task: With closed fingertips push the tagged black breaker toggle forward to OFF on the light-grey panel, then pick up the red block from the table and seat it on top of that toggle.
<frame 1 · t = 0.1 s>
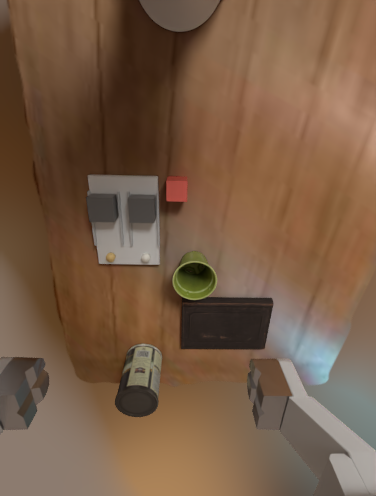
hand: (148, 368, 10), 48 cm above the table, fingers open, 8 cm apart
breaker b: (142, 208, 53), point 3 cm above the table, slide at 0.0 cm
breaker panel: (127, 221, 58), on the table
red block: (177, 186, 55), on the table
breaker a: (102, 207, 53), point 4 cm above the table, slide at 0.0 cm
coffee can: (144, 356, 75), on the table
plant pot: (193, 261, 63), on the table
hardcover book: (224, 320, 71), on the table
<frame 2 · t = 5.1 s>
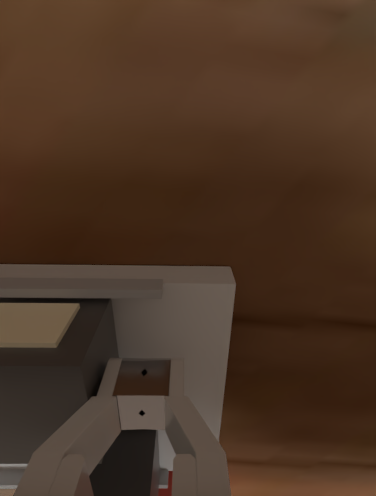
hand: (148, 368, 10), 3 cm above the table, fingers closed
breaker b: (107, 485, 13), point 4 cm above the table, slide at 0.0 cm
breaker panel: (45, 372, 15), on the table
red block: (183, 475, 20), on the table
breaker a: (41, 374, 10), point 4 cm above the table, slide at 1.6 cm, touching gripper
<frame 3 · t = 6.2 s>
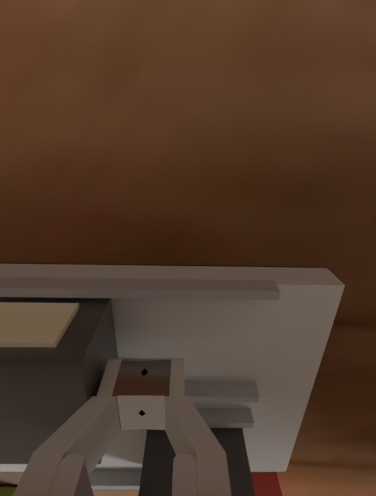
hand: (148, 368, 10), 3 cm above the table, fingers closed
breaker b: (194, 485, 13), point 3 cm above the table, slide at 0.0 cm
breaker panel: (124, 372, 15), on the table
red block: (242, 475, 20), on the table
breaker a: (40, 374, 10), point 3 cm above the table, slide at 6.2 cm, touching gripper
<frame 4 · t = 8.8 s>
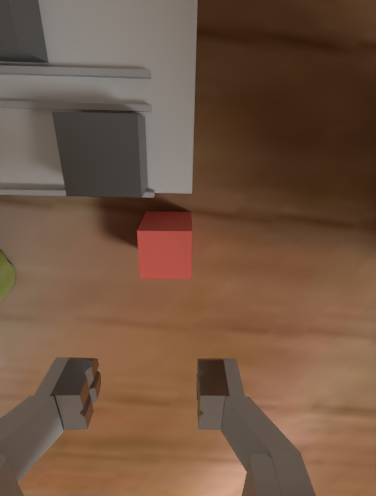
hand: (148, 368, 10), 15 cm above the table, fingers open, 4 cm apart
breaker b: (106, 154, 18), point 3 cm above the table, slide at 0.0 cm
breaker panel: (59, 92, 19), on the table
red block: (168, 232, 24), on the table
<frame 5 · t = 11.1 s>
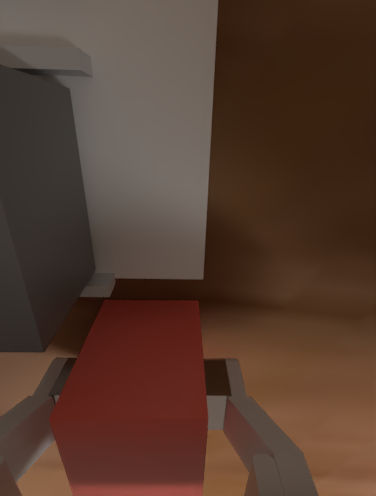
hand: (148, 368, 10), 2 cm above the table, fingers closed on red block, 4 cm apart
red block: (153, 336, 12), on the table, touching gripper
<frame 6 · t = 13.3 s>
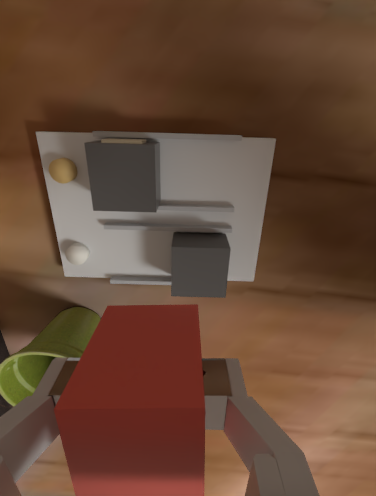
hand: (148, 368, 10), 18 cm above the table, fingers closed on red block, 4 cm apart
breaker b: (199, 264, 25), point 3 cm above the table, slide at 0.0 cm
breaker panel: (159, 211, 26), on the table
red block: (155, 342, 12), point 16 cm above the table, tilted 5°, touching gripper
breaker a: (127, 174, 21), point 3 cm above the table, slide at 6.2 cm
plant pot: (82, 324, 33), on the table
when the fingers open (8 cm above the table, at t = 15.8 s): red block stays where it is, resting on breaker a.
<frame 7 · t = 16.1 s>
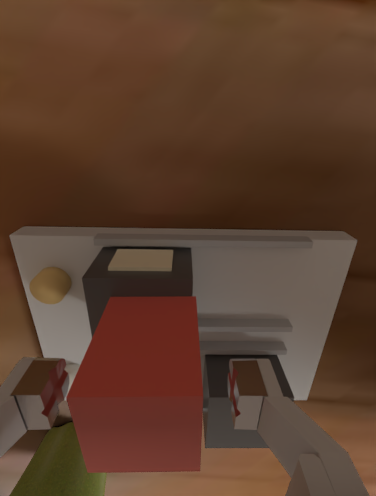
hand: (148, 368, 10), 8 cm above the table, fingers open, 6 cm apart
breaker b: (241, 398, 18), point 3 cm above the table, slide at 0.0 cm
breaker panel: (184, 317, 19), on the table
red block: (155, 329, 13), point 5 cm above the table, touching breaker a
breaker a: (145, 300, 14), point 4 cm above the table, slide at 6.2 cm, touching red block
plant pot: (79, 437, 25), on the table
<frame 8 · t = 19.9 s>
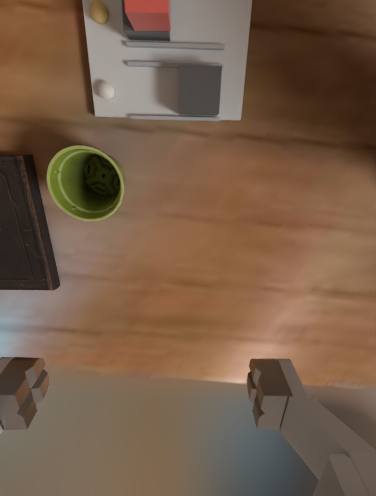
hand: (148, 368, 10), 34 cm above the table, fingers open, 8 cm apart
breaker b: (199, 92, 33), point 4 cm above the table, slide at 0.0 cm
breaker panel: (168, 59, 34), on the table
red block: (151, 7, 28), point 5 cm above the table, touching breaker a
breaker a: (147, 7, 29), point 3 cm above the table, slide at 6.2 cm, touching red block
plant pot: (105, 174, 41), on the table
hardcover book: (2, 224, 44), on the table
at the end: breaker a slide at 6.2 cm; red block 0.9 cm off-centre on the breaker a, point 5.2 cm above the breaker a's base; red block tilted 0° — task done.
